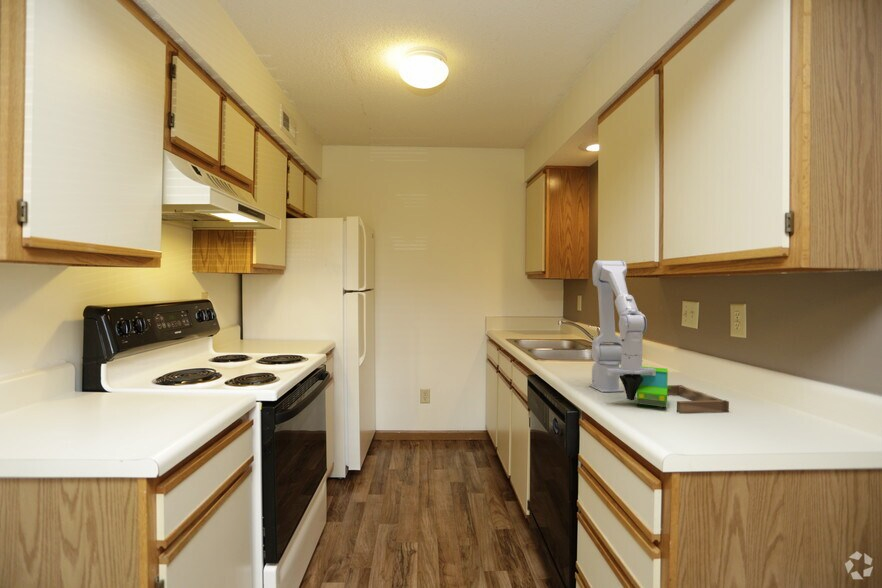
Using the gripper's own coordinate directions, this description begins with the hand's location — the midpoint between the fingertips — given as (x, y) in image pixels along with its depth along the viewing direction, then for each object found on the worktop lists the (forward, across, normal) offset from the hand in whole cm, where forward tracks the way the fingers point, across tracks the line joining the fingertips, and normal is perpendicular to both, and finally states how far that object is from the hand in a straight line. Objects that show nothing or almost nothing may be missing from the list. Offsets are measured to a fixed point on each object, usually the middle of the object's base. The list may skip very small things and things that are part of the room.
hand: (630, 399), depth 130 cm
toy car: (+2, +7, 0) cm, 7 cm away
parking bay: (+1, +16, 0) cm, 16 cm away
